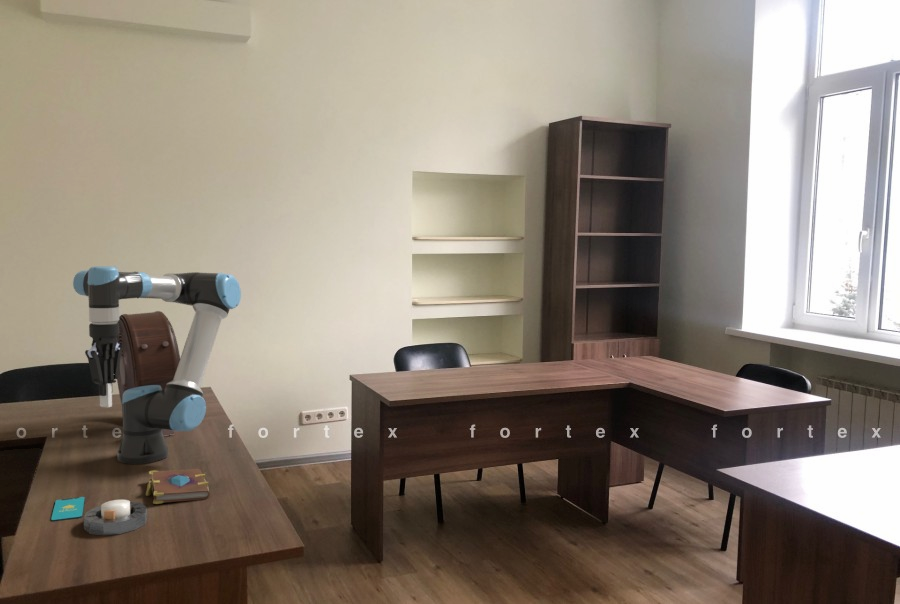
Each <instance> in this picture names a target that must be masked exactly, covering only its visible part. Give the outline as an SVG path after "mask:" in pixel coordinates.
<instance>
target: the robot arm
mask: <svg viewBox="0 0 900 604" xmlns="http://www.w3.org/2000/svg"><path fill="white" fill-rule="evenodd" d="M72 286H73V289H74V291H75V292H76V293H77V294H78V295H80V296H85V297H88V319H89V320H88V321H89V322H90V323H89V325H88V330H89V331H88V334H89V335H88V336H89V337H90V338H92V342H91V347H90V349H86V350H85V352H84V353H85V354H84V355H85V356H86V358H87V362H88V365H89V370H90V375H91V376H90V377H91V381H92V383H93V384H95V385H98V397H99V407H101V408H110V407H113V384H115V383H116V382H117V378H118V373H119V366H120V358H121V352H122V350H123V345H120V344H118V343H117V339H116V337H117V336H119V324H118V323H117V321H119V316H120V300H127V299H128V300H129V299H157V300H158V299H159V300H162V301H164V302H165V303H166V302H167V303H177V304H181V305H186V306H192V308H193V310H194V312H195V313H194V316H193V319H192V321H191V325H190V328H189V331H188V334H187V338H186V340H185V343H184V345H183V348H182V352H181V355H180V361H179V364H178V367H177V370H176V373H175V376H174V379H173V380H172V381H171V382H169V383H167V384H166V387H165V390H164V392H162V389H161V386H160V385H149V386H141V387H136V388H131V389H128V390H126V391H125V392H124V393H123V400H122V404H121V411H122V438H121V441H120V444H119V447H118V450H117V461H118V462H119V463H122V464H130V465H139V464H140V465H142V464H149V463H150V464H151V463H154V462H159V461H162V460H164V459H166V458H167V457H168V456H169V448H168V446H167V443H166V440H165V439H166V438H165V437H164V436H163V434H162V429H168V430H174V432H190V431H193V430H195V429H196V428H197V427H199V426H200V425H201V423H202V421H204V418H205V415H206V411H207V406H206V401H205V398H204V397H203V395H204V392H203V390H202V389H201V385H202V383H203V379H204V377H205V373H206V369H207V366H208V363H209V360H210V358H211V353H212V350H213V347H214V344H215V341H216V338H217V334H218V332H219V328H220V326H221V321H222V320H224V319H225V318H227V317H228V316H229V312H230V310H233V309H235V308H236V307H238V306H239V304H240V303H241V302H240V301H241V298H242V291H241V287H240V283H239V281H238V279H237V278H236V277H235V276H234V275H232V274H230V273H222V272H218V273H217V272H213V273H212V272H197V271H196V272H183V273H182V272H181V273H165V274H163V275H158V274H157V275H155V274H147V273H146V272H143V271H130V272H129V271H119V269H118V267H116V266H112V265H111V266H108V265H107V266H91V267H90V268H89V269H87V270H80V271H78V272H77V273H75V275H74V278H73V280H72ZM165 457H166V458H165ZM161 459H162V460H161ZM158 460H159V461H158Z"/></svg>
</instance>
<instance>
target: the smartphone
mask: <svg viewBox="0 0 900 604" xmlns="http://www.w3.org/2000/svg"><path fill="white" fill-rule="evenodd" d="M85 504H86V497H85V496H79V497H72V498H71V497H70V498H63V499H56V500H55V501H54V504H53V505H54V506H53V509H52V513H51V518H50V522H60V521H66V520H74V519H81V518H84V517H83V515H84V508H85Z"/></svg>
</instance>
